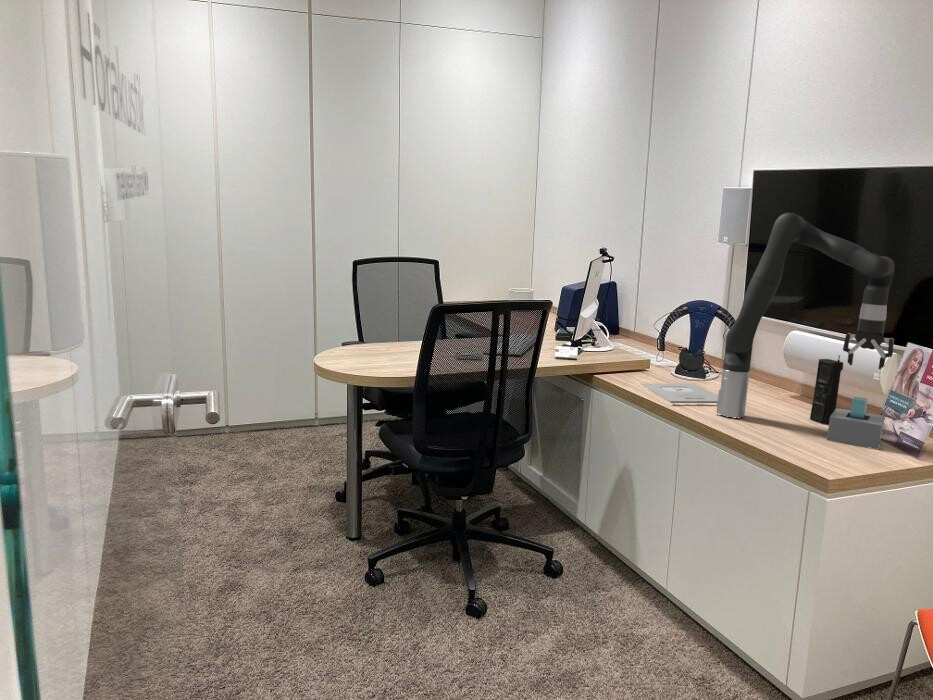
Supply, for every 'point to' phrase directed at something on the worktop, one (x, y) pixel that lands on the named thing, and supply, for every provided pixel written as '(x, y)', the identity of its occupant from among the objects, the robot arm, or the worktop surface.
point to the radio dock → (855, 429)
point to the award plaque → (683, 393)
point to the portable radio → (826, 390)
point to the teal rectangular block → (858, 408)
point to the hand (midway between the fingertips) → (865, 366)
